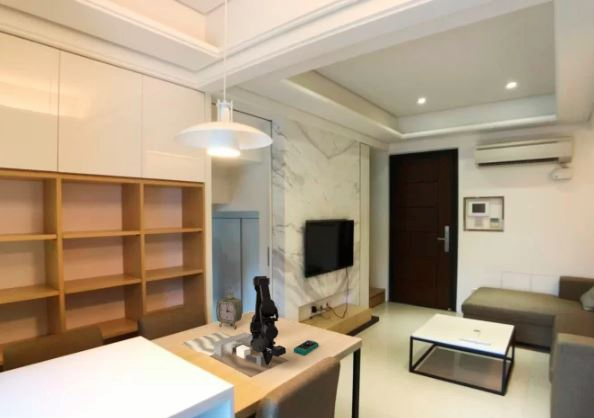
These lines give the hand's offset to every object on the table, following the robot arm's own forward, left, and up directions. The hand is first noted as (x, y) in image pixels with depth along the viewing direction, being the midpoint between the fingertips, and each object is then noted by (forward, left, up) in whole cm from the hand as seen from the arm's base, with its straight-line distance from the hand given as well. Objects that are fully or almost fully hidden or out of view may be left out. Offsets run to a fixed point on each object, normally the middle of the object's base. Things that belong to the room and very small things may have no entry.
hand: (267, 364), depth 163 cm
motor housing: (0, -25, -2) cm, 26 cm away
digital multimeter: (-30, -2, -3) cm, 30 cm away
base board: (0, -26, -2) cm, 26 cm away
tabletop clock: (-23, -59, -2) cm, 64 cm away
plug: (0, -11, -1) cm, 12 cm away
